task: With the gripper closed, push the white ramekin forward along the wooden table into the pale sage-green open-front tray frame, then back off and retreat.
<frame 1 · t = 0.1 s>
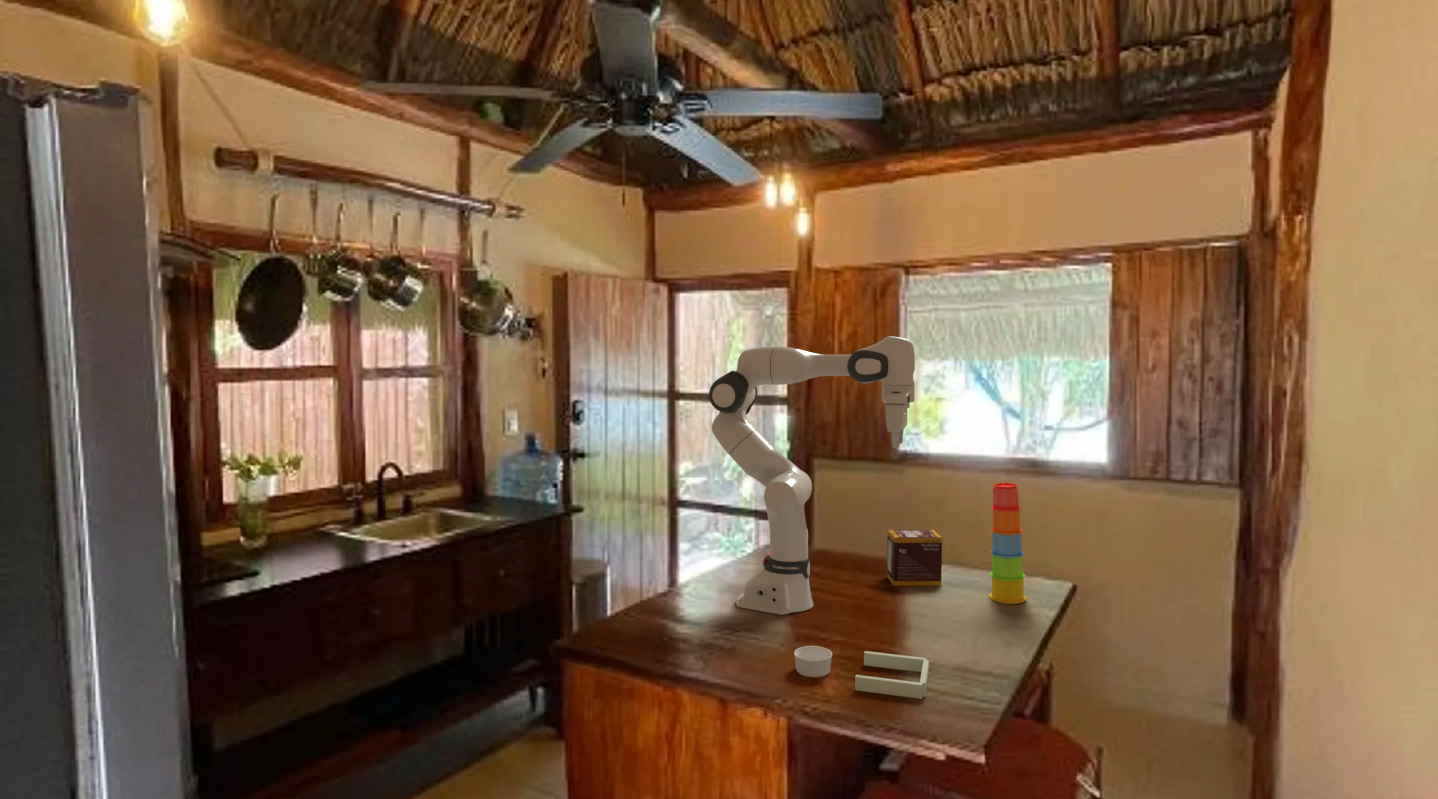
hand: (897, 445, 216), 48 cm above the counter, fingers open, 8 cm apart
tray frame: (891, 680, 176), on the counter
stacking cups: (1007, 599, 233), on the counter
ramekin: (813, 671, 182), on the counter
supplement box: (913, 581, 251), on the counter
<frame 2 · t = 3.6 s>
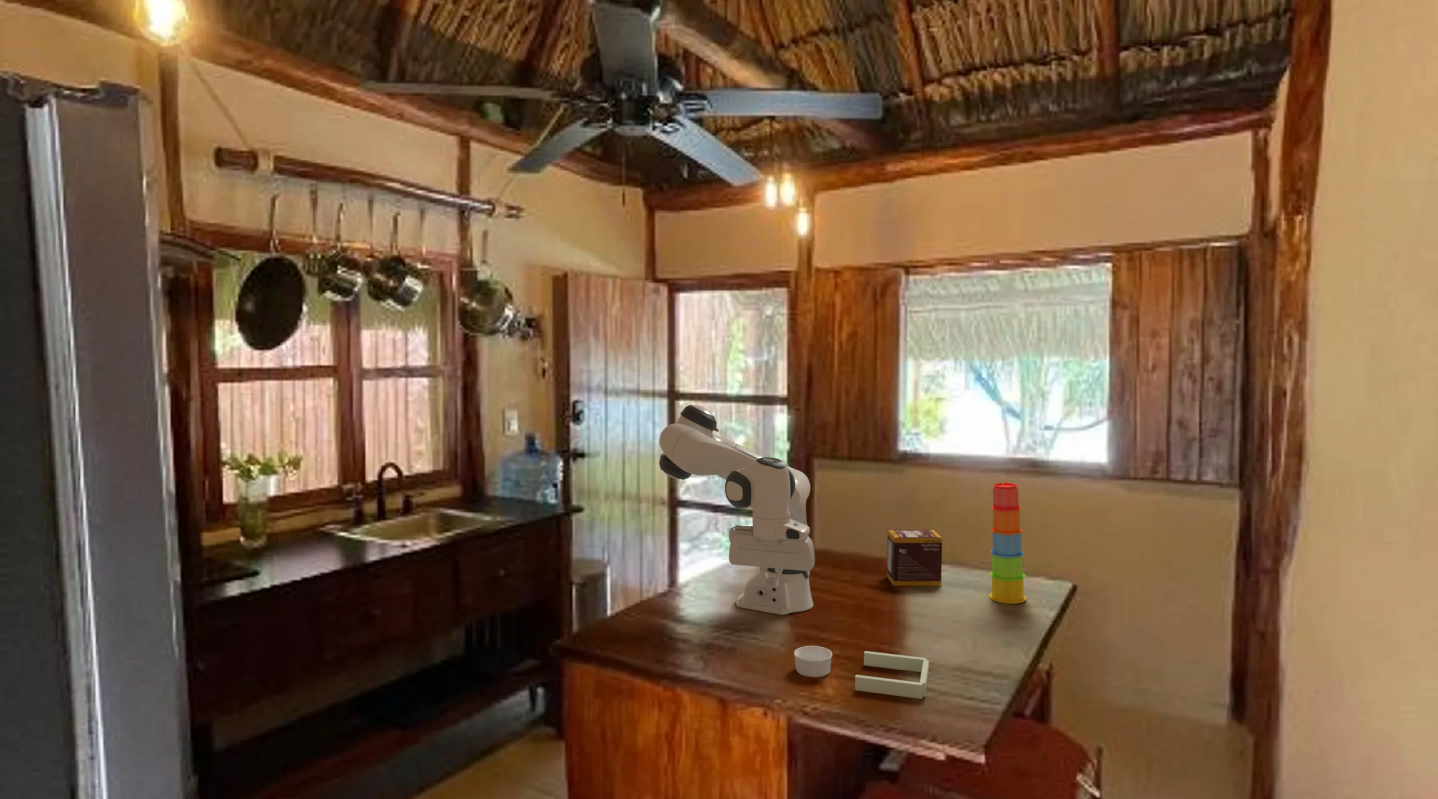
hand: (771, 585, 184), 19 cm above the counter, fingers closed
nothing on the counter moved.
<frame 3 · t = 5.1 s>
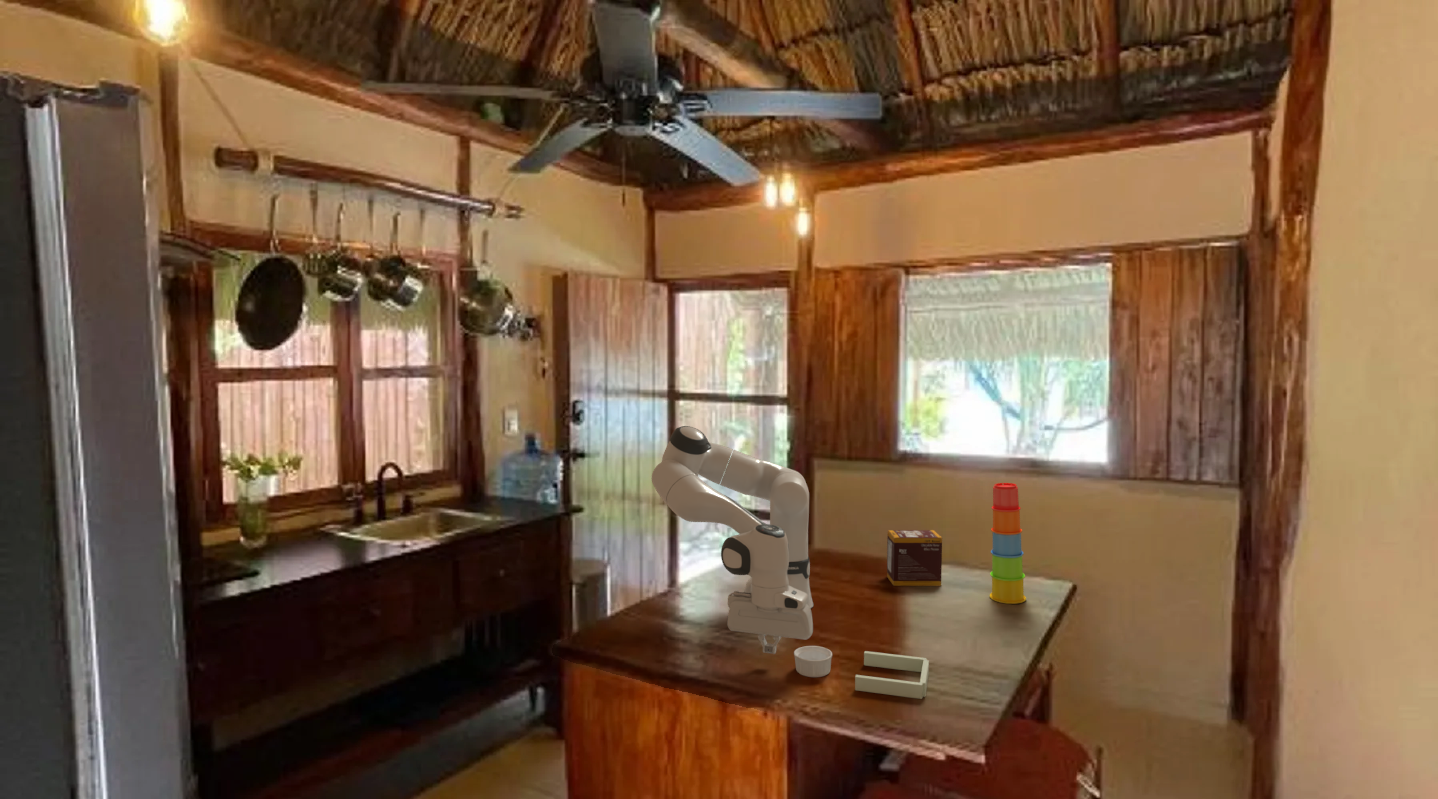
hand: (769, 652, 185), 3 cm above the counter, fingers closed
nothing on the counter moved.
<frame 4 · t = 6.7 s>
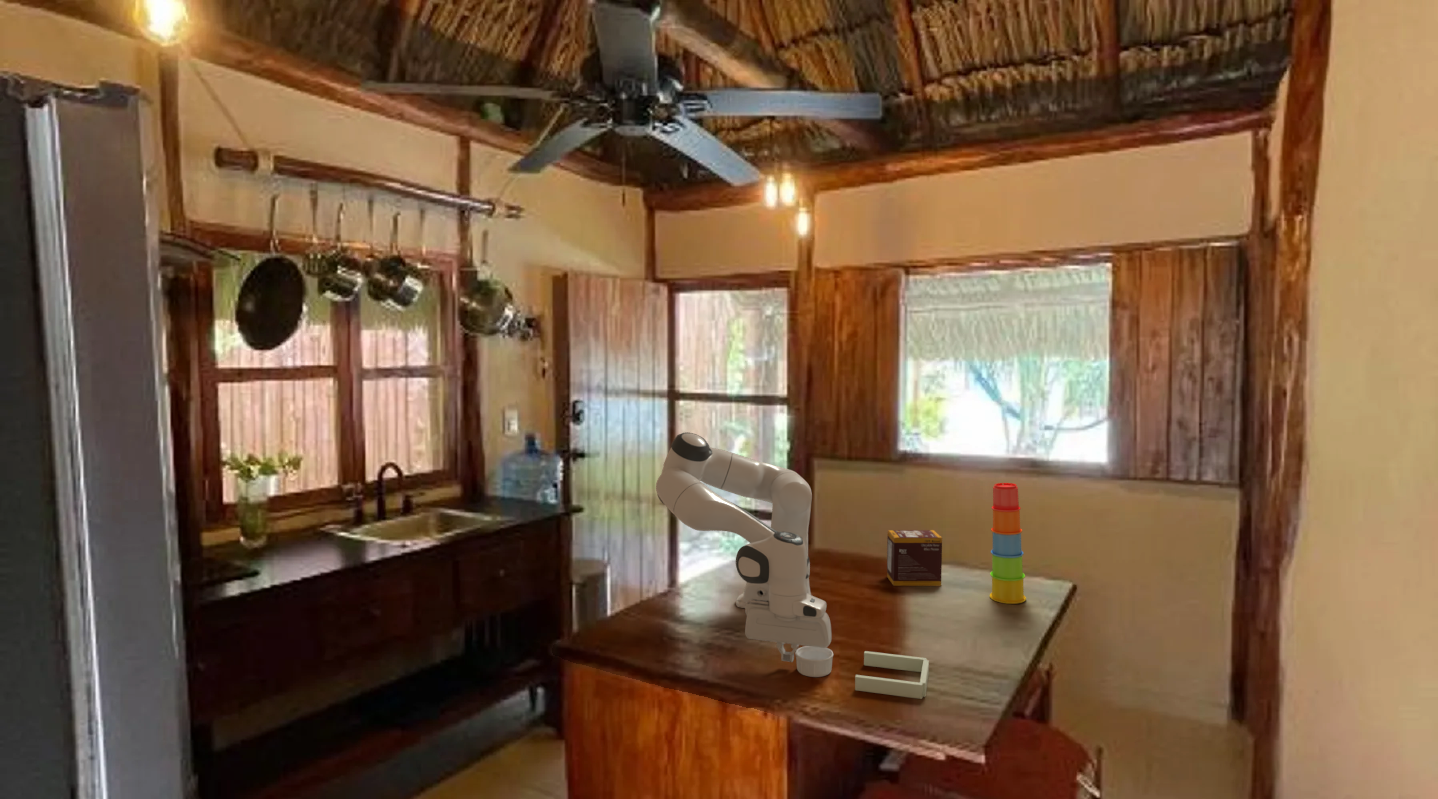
hand: (787, 660, 183), 2 cm above the counter, fingers closed
ramekin: (814, 671, 182), on the counter, touching gripper
everything else where it was.
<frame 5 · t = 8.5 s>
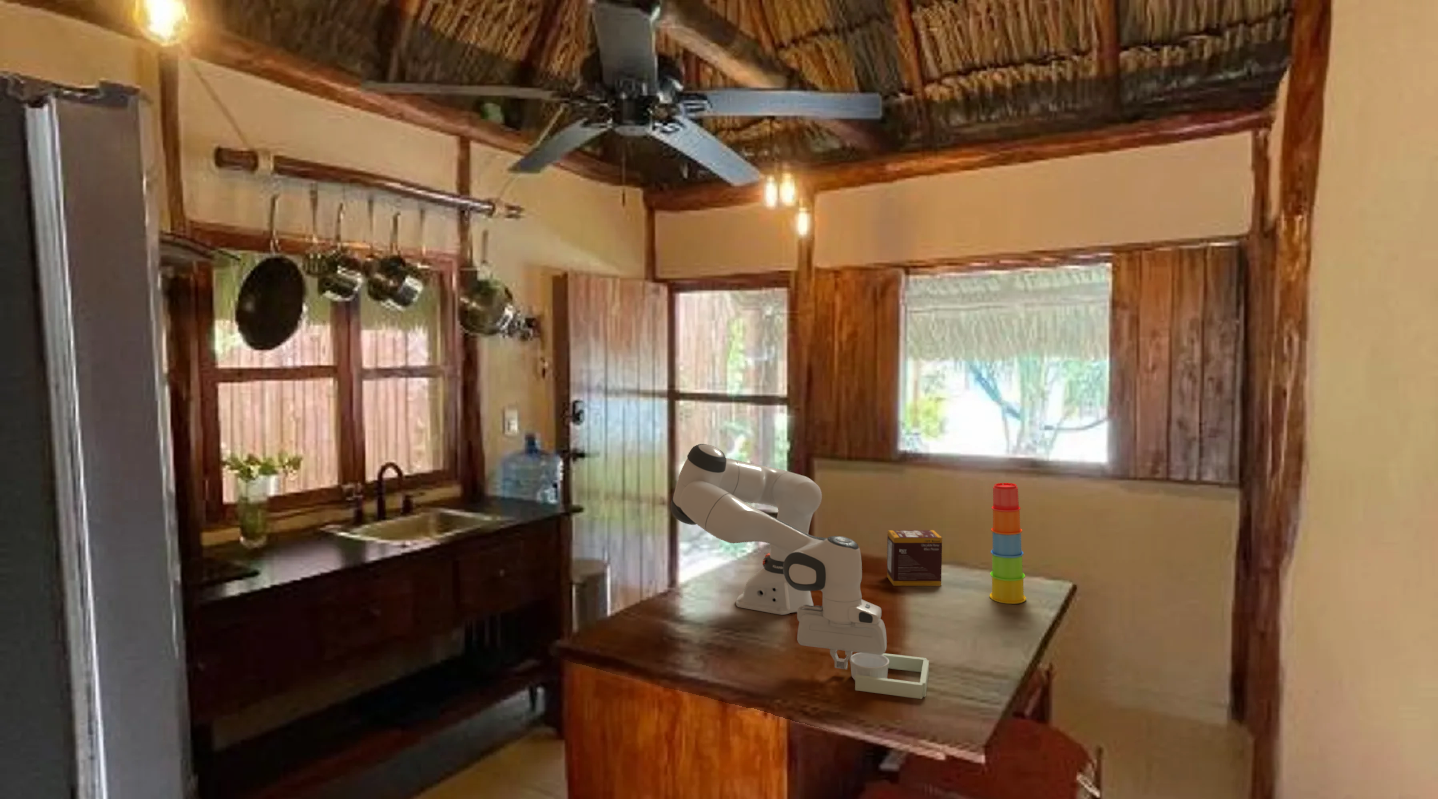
hand: (841, 667, 179), 2 cm above the counter, fingers closed
ramekin: (869, 678, 177), on the counter, touching gripper
everything else where it was.
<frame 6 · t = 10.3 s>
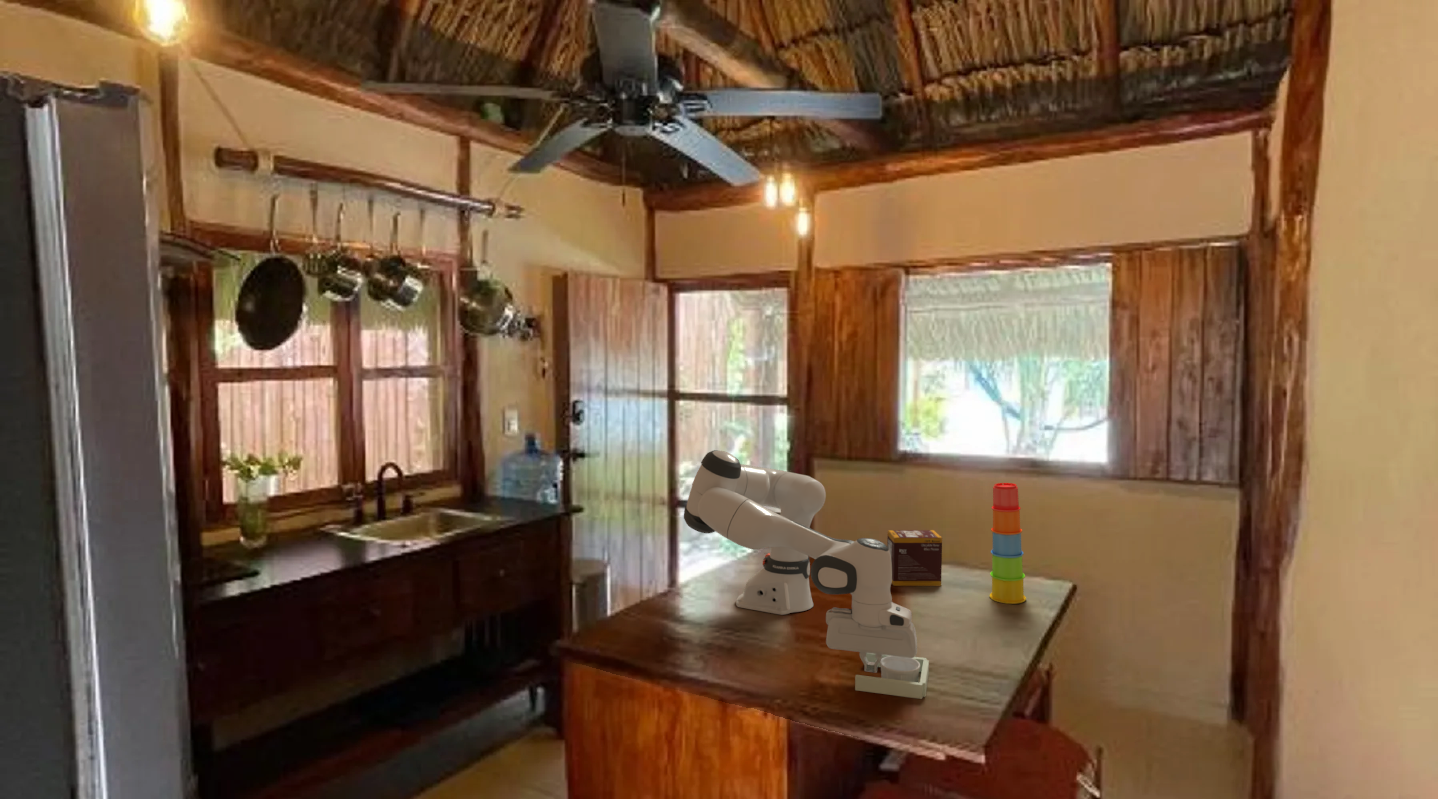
hand: (870, 671, 177), 2 cm above the counter, fingers closed
ramekin: (899, 682, 175), on the counter, touching gripper
everything else where it was.
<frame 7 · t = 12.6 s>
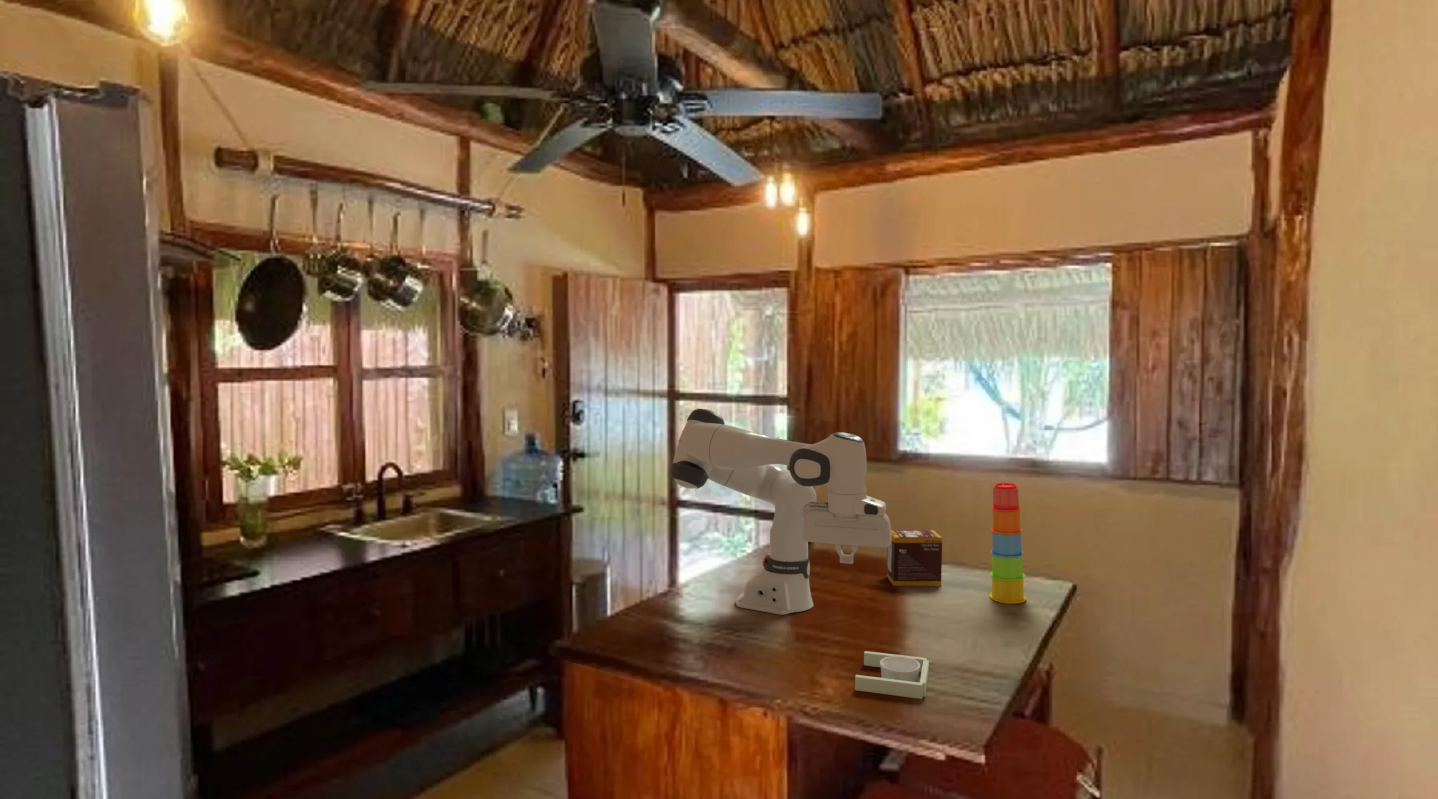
hand: (846, 562, 181), 25 cm above the counter, fingers closed
ramekin: (899, 683, 175), on the counter
everything else where it was.
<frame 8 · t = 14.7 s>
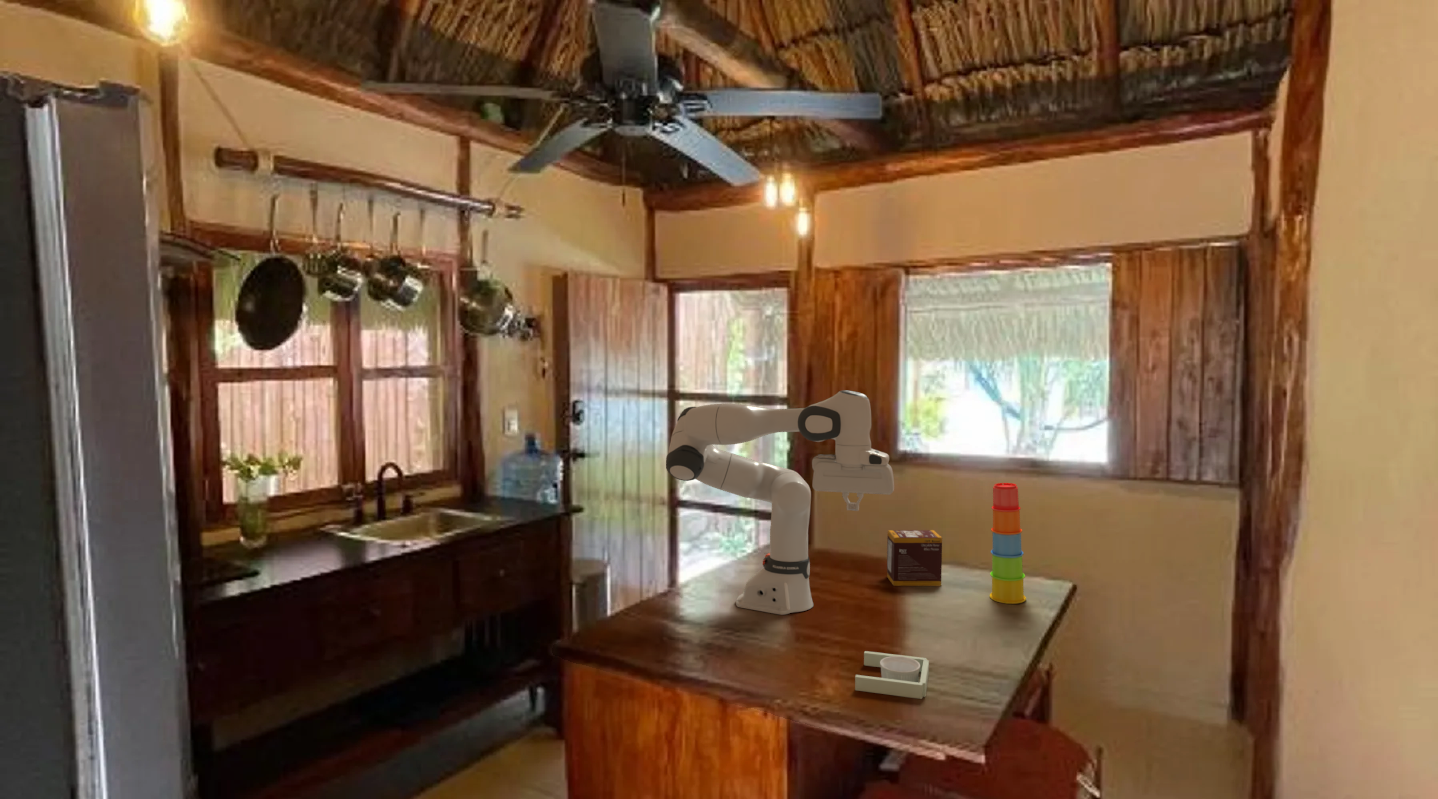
hand: (852, 510, 197), 34 cm above the counter, fingers closed
nothing on the counter moved.
at the end: ramekin inside the target area on the tray frame (1.6 cm from its centre), point 0.0 cm above the tray frame's base; ramekin tilted 0° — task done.
